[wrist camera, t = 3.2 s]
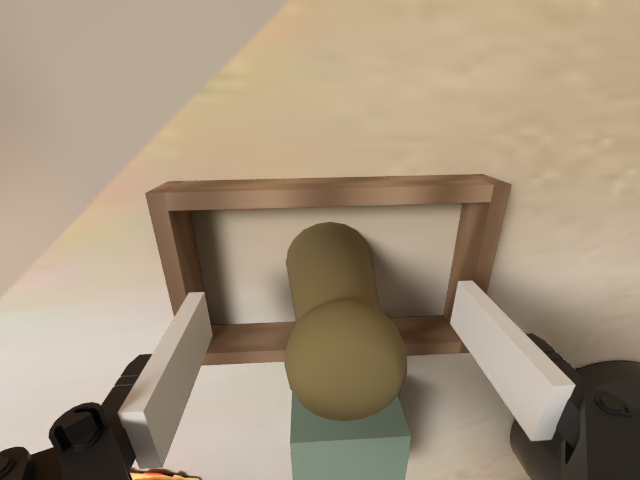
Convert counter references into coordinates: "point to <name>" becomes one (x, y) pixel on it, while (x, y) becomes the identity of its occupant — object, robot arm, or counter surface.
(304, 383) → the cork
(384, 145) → the counter surface
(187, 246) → the wooden frame
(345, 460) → the stand
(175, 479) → the vessel
